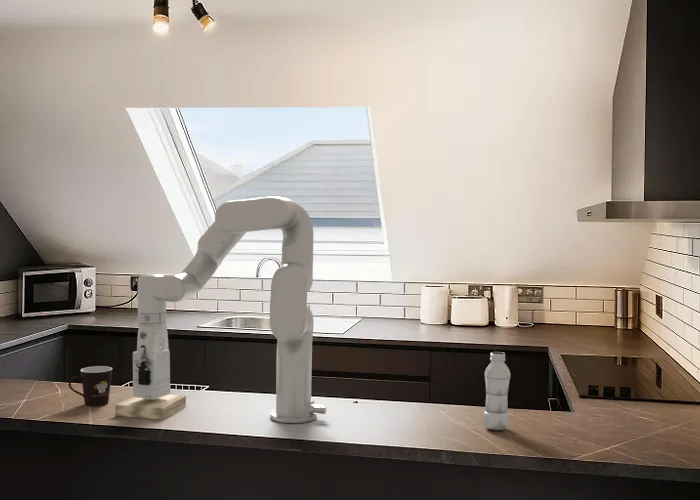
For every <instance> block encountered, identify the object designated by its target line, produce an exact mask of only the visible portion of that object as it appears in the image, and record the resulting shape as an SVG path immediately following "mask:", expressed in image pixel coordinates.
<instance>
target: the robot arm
mask: <svg viewBox="0 0 700 500" xmlns="http://www.w3.org/2000/svg"><path fill="white" fill-rule="evenodd" d="M267 230H280V231H282V242H281V261H280V262H281V263H280V266H279V267H278V268H277V269H276V271H274V273H273V276H272V278H271V282H270V283H271V284H270V298H269V299H270V300H269V301H270V303H269V328H270V331H271V333H272V335H273V336H274V337H275V338H276V339H277V341H276V342H277V343H276V372H275V373H276V384H275V386H276V388H275V389H276V390H275V392H276V396H275V403H276V404H275V406H276V407H275V409H273V410H272V411H271V412H270V414H269V415H270V419H271V420H273V421H275V422H278V423H282V424H283V423H284V424H301V423H308V422H311V421H314V420H316V418H317V414H318V415H319V414H320V415H325V414H326V413H327V407H326V406H325V405H323V404H317V403H315V398H313V399H312V370H313V369H312V368H313V367H312V364H313V363H312V362H313V361H312V360H313V359H312V358H313V337H314V322H315V321H314V315H313V312H312V310H311V309H310V307H309V305H308V293H309V292H310V290H311V288H312V286H313V282H314V272H313V271H314V226H313V222H312V219H311V217H310V215H309V213H308V212H307V211H306V209H305V208H304V207H302V206H301V205H300V204H299V203H297V202H295V200H292V199H289V198H286V197H282V196H265V197H264V196H263V197H256V198H248V199H235V200H227V201H225V202H222V204H220V205H219V206H218V207H217V209H216V211H215V214H214V221H213V223H212V224H211V225H210V226H209V227H208V228H207V230H205V232H203V234H202V235H201V236H200V238H199V239H198V242H197V250H196V252H195V255H194V257H193V258H192V259H191V261H190V262H189V263H188V264H187V265H186V266H185V268H184V269H183V270H181V272H180V273H176V274H175V273H174V274H169V275H163V274H161V273H145V274H141V275H139V276H138V279H137V325H138V330H137V341H136V343H137V344H136V351H137V355H136V357H135V361H136V365H137V367H138V368H137V370H138V384H139V385H150V370H149V366H150V361H149V360H151V361H155V358H156V354H157V353H159V352H161V351H164V350H166V349H167V350H169V334H168V325H167V302H169V303H180V302H182V301H185V300H188V299H191V298H193V297H194V296H196V295H197V294H198V293H199V292H200V291H201V290H202V289H203V287H205V286H206V284H207V283H208V282H209V281H210V280H211V278H212V277H213V276H214V274H215V273H216V271H217V270H218V269H219V267H220V266H221V264H222V263H223V261H224V259H225V258H226V257H227V256H228V254H229V253H230V252H231V251H232V250H233V249H234V248H235V247H236V245H237V244H238V243H239V242H240V240H241V239H242V238H243V237H244V236H245V234H247V233H248V232H249V233H250V232H258V231H267ZM145 353H146V355H147V358H148V359H142V357H143V355H144V354H145ZM144 362H147V363H146V365H145V364H144Z"/></svg>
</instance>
